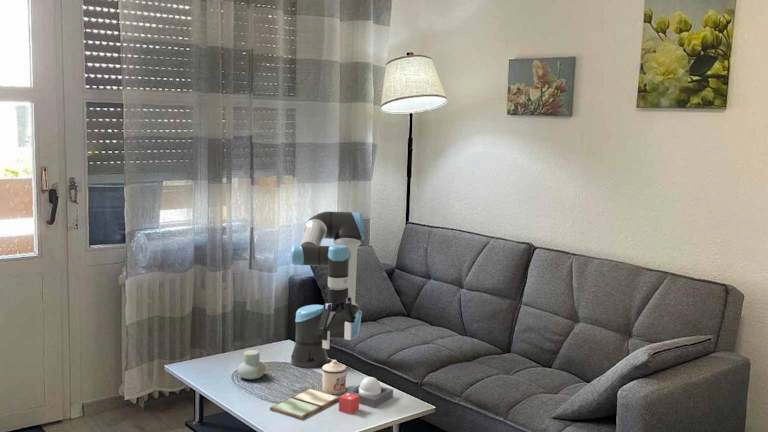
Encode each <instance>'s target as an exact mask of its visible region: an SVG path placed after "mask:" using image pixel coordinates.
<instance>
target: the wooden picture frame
mask: <svg viewBox="0 0 768 432" xmlns="http://www.w3.org/2000/svg"><path fill="white" fill-rule="evenodd" d="M339 397H340V396H339V395H332V394H328V393H325V392H323V391H321V390H318V389H313V388H308V389H305V390H304V391H301V392H299V393H297V394H295V395H293V396H290V397H289V398H286V399H284V400H282V401H280V402H278V403H275V404H274V405H272V406H270V407H269V411H272V412H275V413H279V414H281V415H284V416H287V417H291V418H294V419H298V420H300V421H302V420H304V419H306V418H308V417H310V416H312V415H314V414H316V413H317V412H320V411H321V410H323V409H325V408H327V407H329V406H331V405H333V404H335V403H337V402H339Z"/></svg>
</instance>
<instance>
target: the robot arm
mask: <svg viewBox="0 0 768 432" xmlns="http://www.w3.org/2000/svg"><path fill="white" fill-rule="evenodd" d="M363 219H364V217H363V214H362V213H361V212H355V211H329V210H327V211H323V212H319V213H317V214H315V215H313V216H312V217H310V218H309V219H308V220H307V221H306V223H305V225H304V227H303V228H304V229H303V230H304V231H303V233H304V235H303V237H302V239H301V241H300V244H296V245H292V247H291V253H290V254H291V255H290V260H291V264H292V265H294V266H311V267H312V266H317V267H318V266H319V267H328V268H327V269H328V270H327V271H328V272H327V273H328V274H327V287H328V288H327V298H328V300H329V303H327V302H325V303H324V304H323V305H322V304H310V305H309V304H308V305H304V306H301V307H300V308H298V309H297V310H296V312H295V320H294V321H295V343H294V348H293V350H292V354H291V356H290V363H291V364H292V365H293V366H295V367H298V368H303V369H305V368H306V369H307V368H309V369H310V368H311V369H313V368H314V369H315V368H321V367H323V366H324V365H325V364H329V355H328V353H327V350H329V349H330V346H331V345H330V344H331V343H330V339H338V340H340V339H341V340H342V339H344V340H348V341H352V339H354V340H355V339H357V337H358V336H359V333H360V328H361V323H362V314H363V311H362V310H360V309H359V305H358V304H357V302H356V291H357V290H356V289H357V288H356V285H357V265H358V264H357V263H358V261H357V259H358V247H360V245H362V241H364V240H365V239H366V238H365V230H364V220H363ZM323 239H330V240H333V244H331V245H322V241H323Z"/></svg>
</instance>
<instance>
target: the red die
mask: <svg viewBox="0 0 768 432" xmlns="http://www.w3.org/2000/svg"><path fill="white" fill-rule="evenodd" d="M359 410H360V404H359V396H358V395H354V394H351V393H344V394H342V395H340V396H339V401H338V411H339V412H342V413H345V414H348V415H352V414H354V413H355V412H358V411H359Z"/></svg>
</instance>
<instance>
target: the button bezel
mask: <svg viewBox="0 0 768 432" xmlns="http://www.w3.org/2000/svg"><path fill="white" fill-rule="evenodd" d="M359 387H360V384H358V385H357V386H355V387H354V388H353V387H352V389H350V390H348V391H345V392H346V393H351V394H354V395H358V396H359V405H363V406H366V407H369V408H372V409H373V408H374V409H375V408H377V407H378V406H381V405H382V404H384V403H386V402H388V401H389V400H391V399H392V398H393V397H394V389H393V388H390V387H385V386H381V385H380V387H381V394H379V395H377V396H375V397H374V398H373V397H370V396H366V395H362V394H359ZM346 393H345V394H346Z"/></svg>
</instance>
